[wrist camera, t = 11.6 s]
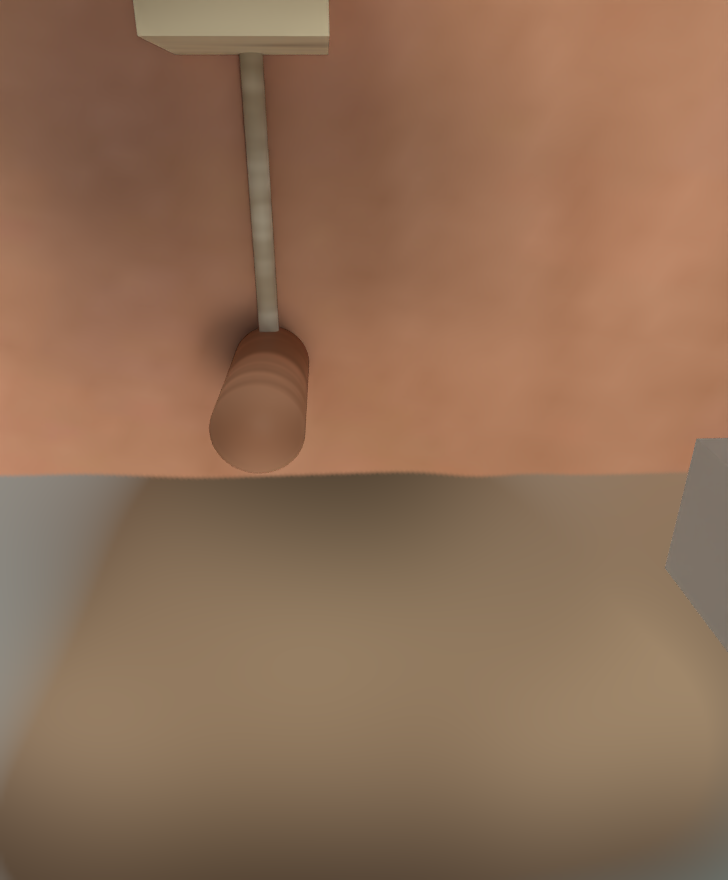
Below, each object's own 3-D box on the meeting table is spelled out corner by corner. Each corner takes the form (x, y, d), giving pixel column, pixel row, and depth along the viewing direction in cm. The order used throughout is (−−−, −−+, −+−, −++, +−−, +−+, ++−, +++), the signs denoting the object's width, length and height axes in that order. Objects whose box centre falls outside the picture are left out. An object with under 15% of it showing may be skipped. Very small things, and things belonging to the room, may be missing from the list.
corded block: (154, -139, 24) (82, -255, 17) (323, -137, 24) (323, -249, 17) (212, 398, 33) (180, 475, 25) (336, 395, 33) (340, 470, 26)
